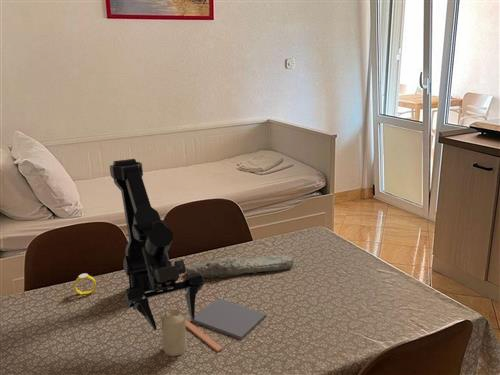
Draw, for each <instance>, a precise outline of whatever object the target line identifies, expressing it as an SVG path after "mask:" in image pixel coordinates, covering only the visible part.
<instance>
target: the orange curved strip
mask: <svg viewBox="0 0 500 375" xmlns="http://www.w3.org/2000/svg"><path fill="white" fill-rule="evenodd" d="M185 323H186V329H188V330H189V331H190V332H192V333H193V334H194V335H195V336H197V337H198V338H200V339H201V340H202V341H203V342H204V343H206V344H207V345H208V346H209V347H211V348H212V349H213V350H214V351H216V352H217V353H218V352H220V351H223V350H224V349H223V347H222V346H221V345H220V344H219V343H218V342H216V341H215V340H213V339H212V338H211V337H210V336H208V335H207V334H206V333H204V332H203V331H201V330H200V329H199V328H198V327H197V326H195V325H194V324H193V323H191V321H189V320H188V319H186V318H185Z"/></svg>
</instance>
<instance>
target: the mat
mask: <svg viewBox="0 0 500 375" xmlns="http://www.w3.org/2000/svg"><path fill="white" fill-rule="evenodd" d="M265 318H267V313H264V312H262V311H258V310H255V309H251V308H250V307H245V306H243V305H239V304H236V303H233V302H230V301H227V300H224V299H221V298H216V299H215V300H214V301H212V302H211V303H210V304H208V305H207V306H205V307H204V308H203V309H202V310H200V311H199V312H197V314H196V313H195V317H194V320H192V318H191V317H190V322H192V323H195V324H198V325H199V326H200V325H201V326H203V327H206V328H209V329H211V330H214V331H217V332H220V333H222V334H225V335H228V336H231V337H233V338H237V339H238V340H243V339H244V338H246V336H248V335H249V333H251V332H252V331H253V330H254V329H255V328H256V327H257V326H259V324H260V323H261V322H262V321H263V320H265Z"/></svg>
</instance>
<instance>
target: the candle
mask: <svg viewBox="0 0 500 375" xmlns="http://www.w3.org/2000/svg"><path fill="white" fill-rule="evenodd" d="M185 319H186V315H185V314H184V313H183V312H182V311H180V310H178V309H177V308H175V309H174V308H173V309H170V310H169V311H166V313H164V315H162V317H161V320H160V321H161V328H162V342H163V343H162V344H163V351H164V353H165V354H166V356H167V355H168V356H172V357H176V356H181V355H183V354H184V353H186V351H187V350H188V340H187V327H186V323H185Z"/></svg>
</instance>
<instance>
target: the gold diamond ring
mask: <svg viewBox="0 0 500 375" xmlns="http://www.w3.org/2000/svg"><path fill="white" fill-rule="evenodd" d="M86 279H89V280H91V281H92V283H93V285H94V286H93V288H92V289H91V290H87V291H86V290H85V291H81V290H79V289H78V288H77V283H78V282H79V281H83V280H86ZM96 287H97V283H96V280H95V278H94V277H93V276H92V275H89V274H88V273H86V272H85V273H81V274H79V275H78V276H77V278H76V279H75V281H74V284H73V289H74V291H75V292H76V293H77V294H78V295H81V296H83V295H82V294H84V295H89V294H90V293H91V294H92V293H94V291H95V290H96ZM91 294H90V295H91Z"/></svg>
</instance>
